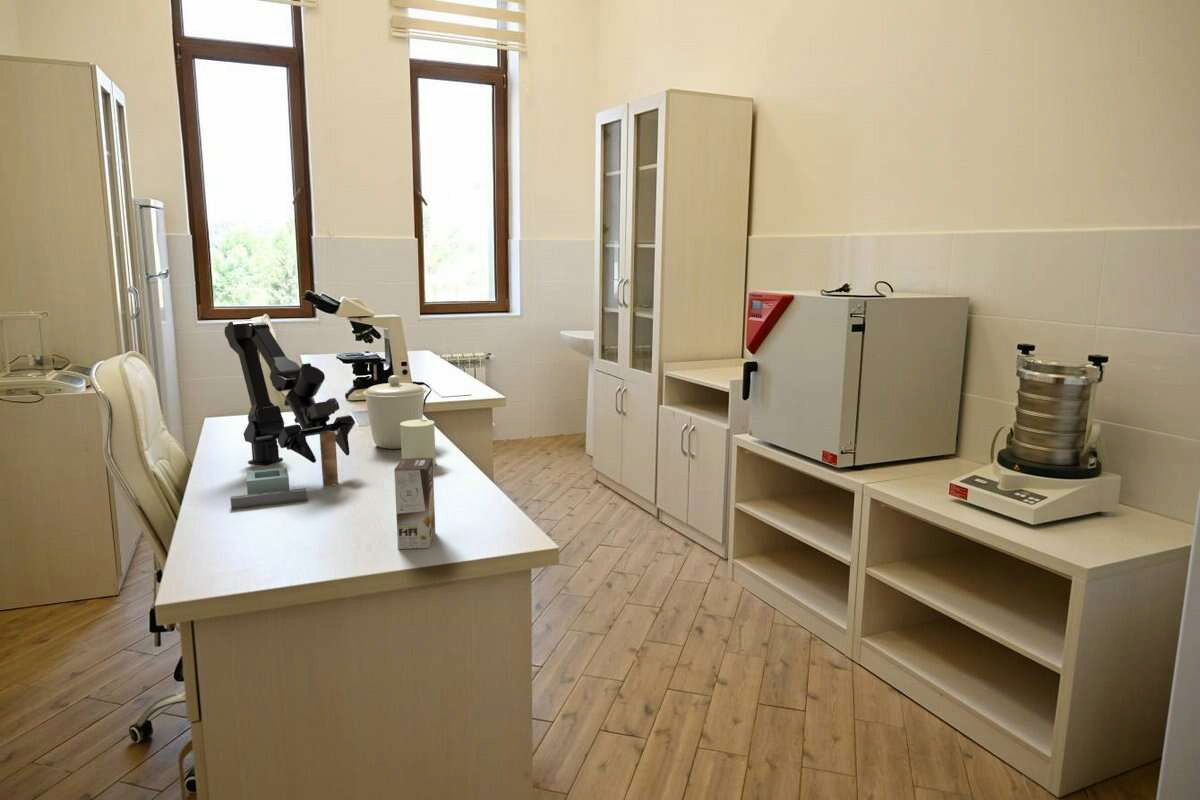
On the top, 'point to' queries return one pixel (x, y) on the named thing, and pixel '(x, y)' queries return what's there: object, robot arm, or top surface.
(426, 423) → the can
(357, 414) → the top surface
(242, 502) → the backstop bar
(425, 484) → the coffee box
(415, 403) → the canister
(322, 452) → the dowel
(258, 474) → the socket block
